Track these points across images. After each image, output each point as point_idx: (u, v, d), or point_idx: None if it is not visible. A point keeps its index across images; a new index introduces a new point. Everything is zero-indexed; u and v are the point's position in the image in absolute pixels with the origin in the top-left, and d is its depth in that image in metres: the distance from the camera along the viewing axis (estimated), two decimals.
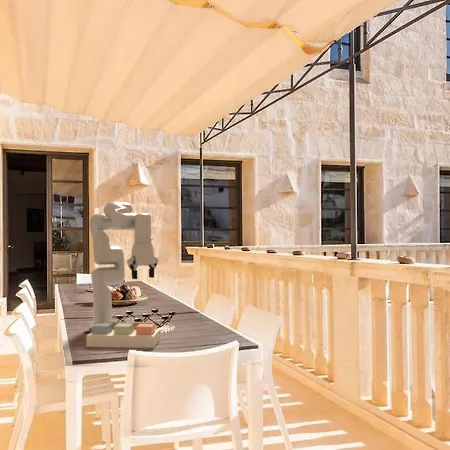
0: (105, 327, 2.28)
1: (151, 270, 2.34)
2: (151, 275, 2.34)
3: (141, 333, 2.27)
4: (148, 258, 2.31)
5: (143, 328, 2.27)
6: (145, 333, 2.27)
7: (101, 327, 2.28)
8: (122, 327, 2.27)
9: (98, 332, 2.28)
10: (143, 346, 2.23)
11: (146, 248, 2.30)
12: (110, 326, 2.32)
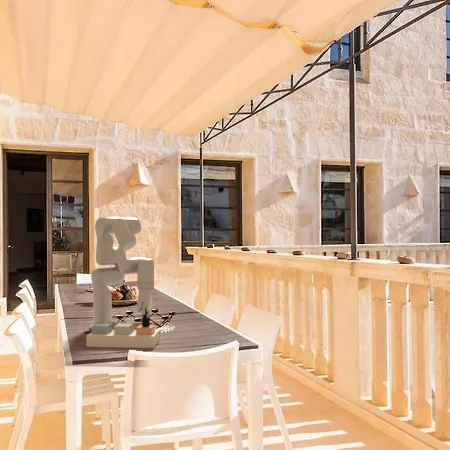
0: (105, 327, 2.28)
1: None
2: None
3: (141, 334, 2.27)
4: (151, 303, 2.31)
5: (143, 329, 2.27)
6: (145, 334, 2.27)
7: (101, 327, 2.28)
8: (122, 327, 2.27)
9: (98, 332, 2.28)
10: (143, 346, 2.23)
11: (151, 293, 2.30)
12: (110, 326, 2.32)
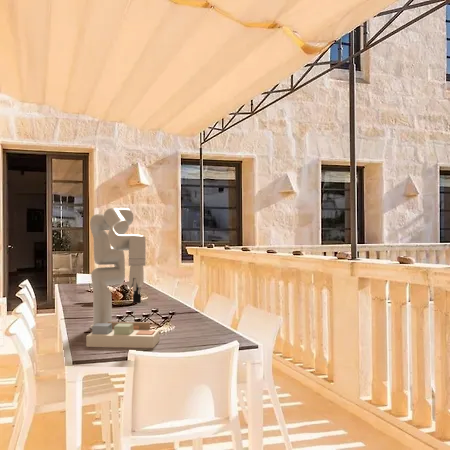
0: (105, 327, 2.28)
1: None
2: None
3: None
4: (142, 279, 2.32)
5: None
6: None
7: (101, 327, 2.28)
8: (122, 327, 2.27)
9: (98, 332, 2.28)
10: (143, 346, 2.23)
11: (142, 269, 2.31)
12: (110, 326, 2.32)
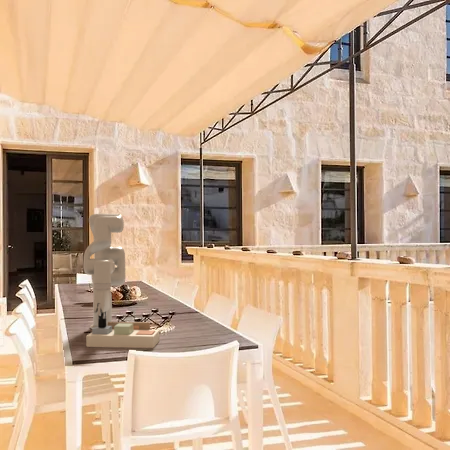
0: (105, 330, 2.28)
1: None
2: None
3: None
4: (108, 304, 2.33)
5: None
6: None
7: (101, 330, 2.28)
8: (122, 327, 2.27)
9: None
10: (143, 346, 2.23)
11: (107, 294, 2.31)
12: (110, 329, 2.32)
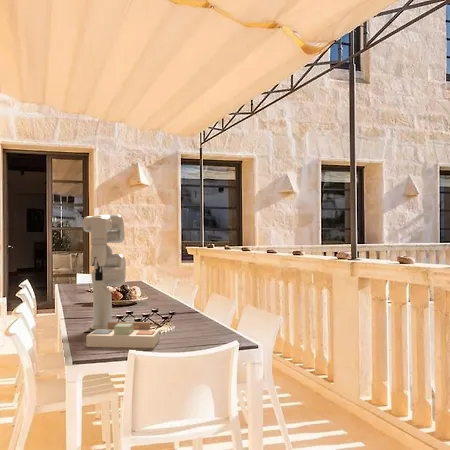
0: None
1: None
2: None
3: None
4: (104, 259, 2.47)
5: None
6: None
7: None
8: (122, 327, 2.27)
9: None
10: (143, 346, 2.23)
11: (104, 249, 2.46)
12: None
